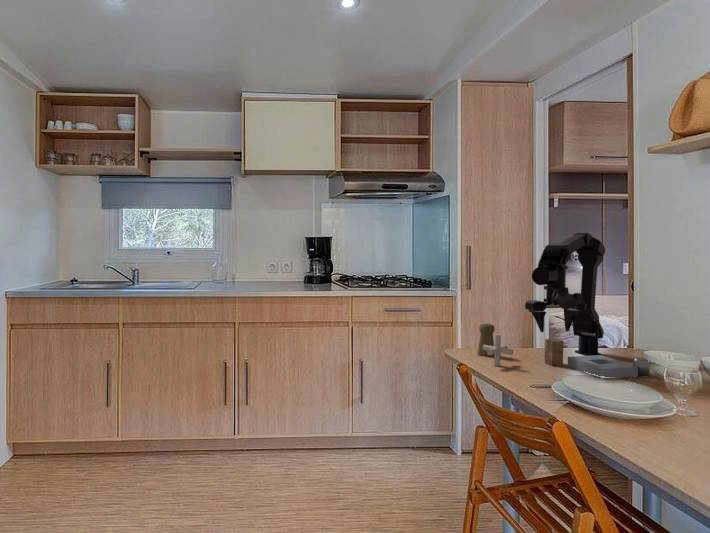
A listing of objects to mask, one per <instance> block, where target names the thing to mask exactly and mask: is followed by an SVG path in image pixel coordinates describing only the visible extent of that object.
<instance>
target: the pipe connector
mask: <svg viewBox="0 0 710 533" xmlns="http://www.w3.org/2000/svg"><path fill="white" fill-rule="evenodd" d="M501 340H502V335H501V334H500V333H496V334H494V346H489V345H483V347H482V349H483V350H486V351H487V354H488V355H493V354H494V359H493V360H494V361H493V366H495V367H500V366H501V354H504V355H508V356H509V355H510V356H513V354H514V350H513V349H512V348H509V347H508V345H506V344H504V345H501V344H502V342H501Z"/></svg>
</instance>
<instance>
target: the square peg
mask: <svg viewBox="0 0 710 533" xmlns="http://www.w3.org/2000/svg"><path fill="white" fill-rule="evenodd" d="M544 364H545V365H548V366H551V367H559V366H560V367H561V366H564V340H562V339H558V338H545V339H544Z"/></svg>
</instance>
